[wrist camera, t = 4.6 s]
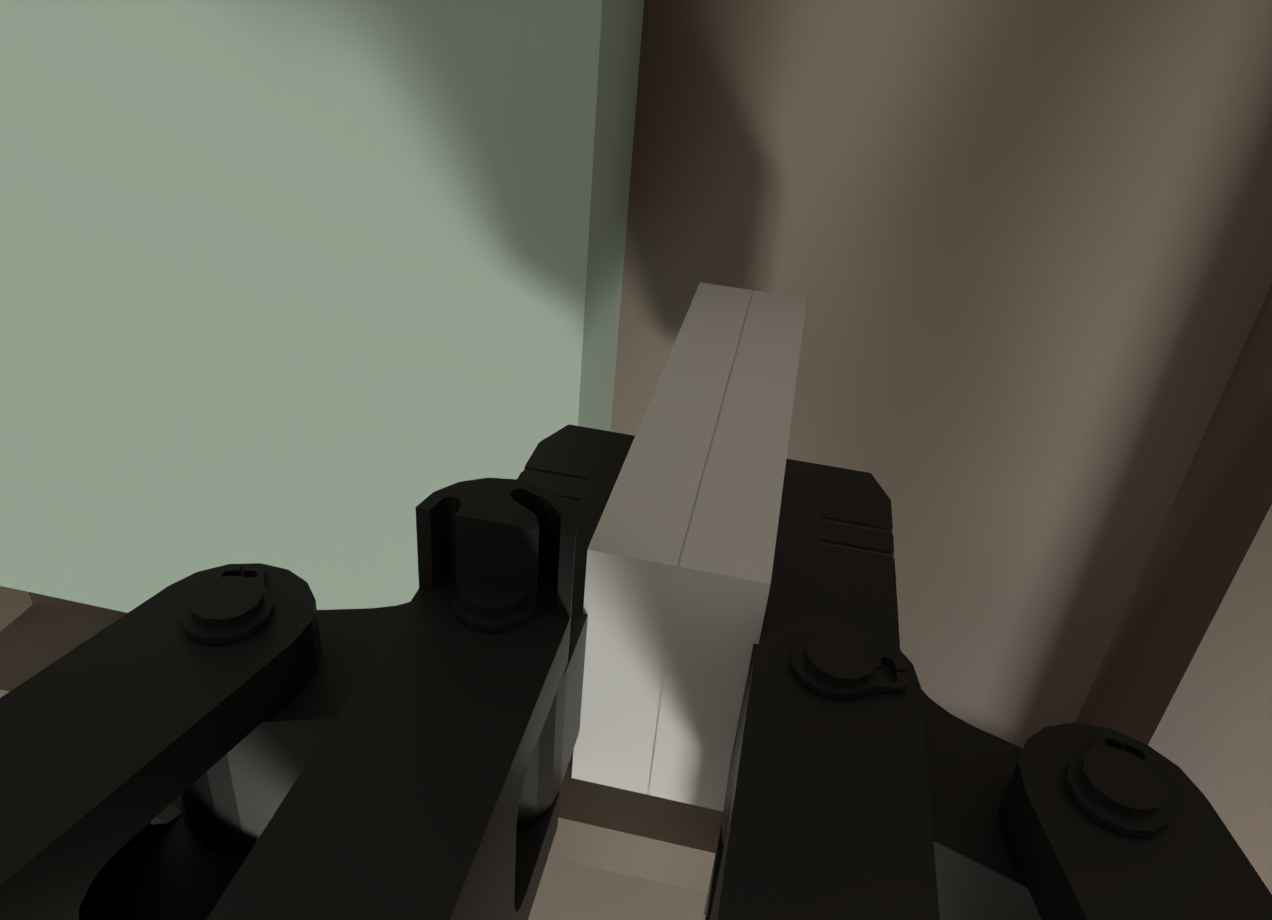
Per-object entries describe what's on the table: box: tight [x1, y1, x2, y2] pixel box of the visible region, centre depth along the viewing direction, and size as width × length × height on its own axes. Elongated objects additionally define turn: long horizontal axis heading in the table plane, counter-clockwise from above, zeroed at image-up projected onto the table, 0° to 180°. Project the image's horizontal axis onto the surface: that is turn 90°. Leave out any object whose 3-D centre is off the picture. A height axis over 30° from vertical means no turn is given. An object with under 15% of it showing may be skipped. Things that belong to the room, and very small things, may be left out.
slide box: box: [0, 0, 1272, 894], centre depth 15 cm, size 23×20×3 cm
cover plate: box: [0, 0, 644, 613], centre depth 15 cm, size 12×12×2 cm
